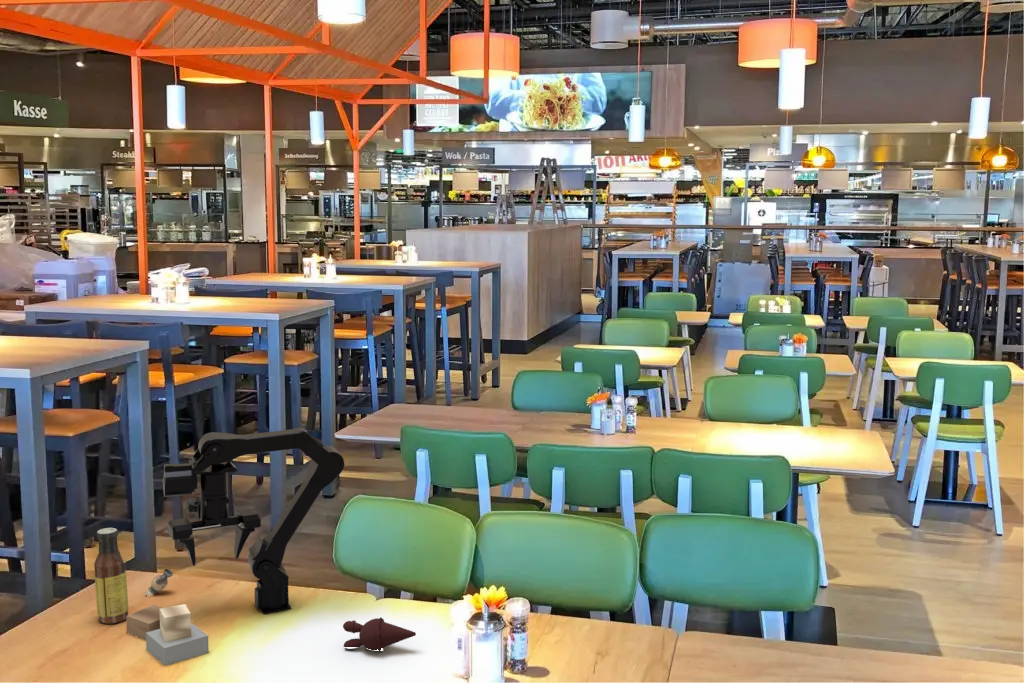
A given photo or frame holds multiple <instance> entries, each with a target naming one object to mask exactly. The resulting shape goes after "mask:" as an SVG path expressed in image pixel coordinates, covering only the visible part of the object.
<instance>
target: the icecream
mask: <svg viewBox="0 0 1024 683" xmlns="http://www.w3.org/2000/svg"><path fill="white" fill-rule="evenodd" d="M342 628H343V630H344V631H345V632H348V633H352V634H356V633H359V635H358V638H351V639H348V640H346V641H345V642H344V643H343V648H344V647H359V648H362V647H364V648H365V649H366V648H368V649H371V650H377V649H378V650H379V651H378V652H380V650H381V648H384V649H385V648H386V647H388V646H392V645H394V644H396V643H399V642H402V641H405V640H407V639H410V638H412V637H415V636H416V634H417V633H416V632H415V631H412V630H411V629H407V628H404V627H401V626H398V625H396V624H392V623H389V622H386V621H385V620H384V618H382V616H380V617H379V618H378V617H377V618H372V619H370V620H368V621H366V622H365V623H364V624H361V623H358V622H357V621H356V620H346V621H345V622H344V623H343V625H342ZM368 649H367V650H368Z"/></svg>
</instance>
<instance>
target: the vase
mask: <svg viewBox="0 0 1024 683" xmlns="http://www.w3.org/2000/svg"><path fill="white" fill-rule="evenodd" d="M172 576H174V573H173V571H172V569H170V568H164V569H163V574H157V575H155V576H154V577H153V578H152V580H151V582H150V583H151V584H150V586H149V587H148V589H147V590H146V591H145V592H144V593H145V595H151V594H155V593H157V594H158V592H161V591H163V590H164V589H165V588H166V587H167V586H168V583H169V580H168V578H172ZM155 595H156V594H155Z"/></svg>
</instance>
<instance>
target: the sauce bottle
mask: <svg viewBox="0 0 1024 683" xmlns="http://www.w3.org/2000/svg"><path fill="white" fill-rule="evenodd" d="M118 536H119V535H118V529H117V528H114V527H105V528H100V529H99V530H97V532H96V537H97V539H98V540H97V541H98V554H97V555H96V558H95V560H94V564H93V565H94V581H95V582H94V583H95V584H94V586H95V597H96V598H95V599H96V610H97V616H98V621H99V622H100V623H103V624H107V625H110V624H111V625H112V624H118V622H119V623H120V622H123V621H124V620H126V616H127V615H129V595H128V580H127V571H126V570H127V569H126V564H125V562H124V560H123V558H122V555H121V554H122V553H121V552H120V549H119V546H118Z"/></svg>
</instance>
